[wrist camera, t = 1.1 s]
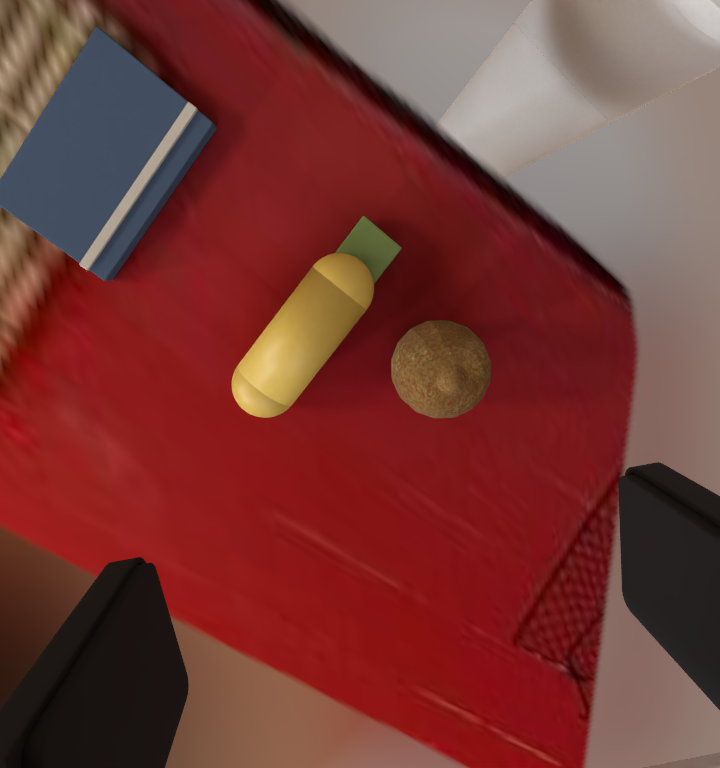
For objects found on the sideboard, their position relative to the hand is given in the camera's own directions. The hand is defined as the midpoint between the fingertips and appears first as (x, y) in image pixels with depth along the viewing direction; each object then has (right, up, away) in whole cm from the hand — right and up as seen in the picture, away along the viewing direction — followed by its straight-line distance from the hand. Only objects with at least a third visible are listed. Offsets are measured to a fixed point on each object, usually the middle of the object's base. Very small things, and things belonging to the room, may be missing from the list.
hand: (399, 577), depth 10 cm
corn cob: (-4, +8, +24) cm, 26 cm away
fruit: (+4, +6, +26) cm, 26 cm away
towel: (-17, +18, +21) cm, 32 cm away
